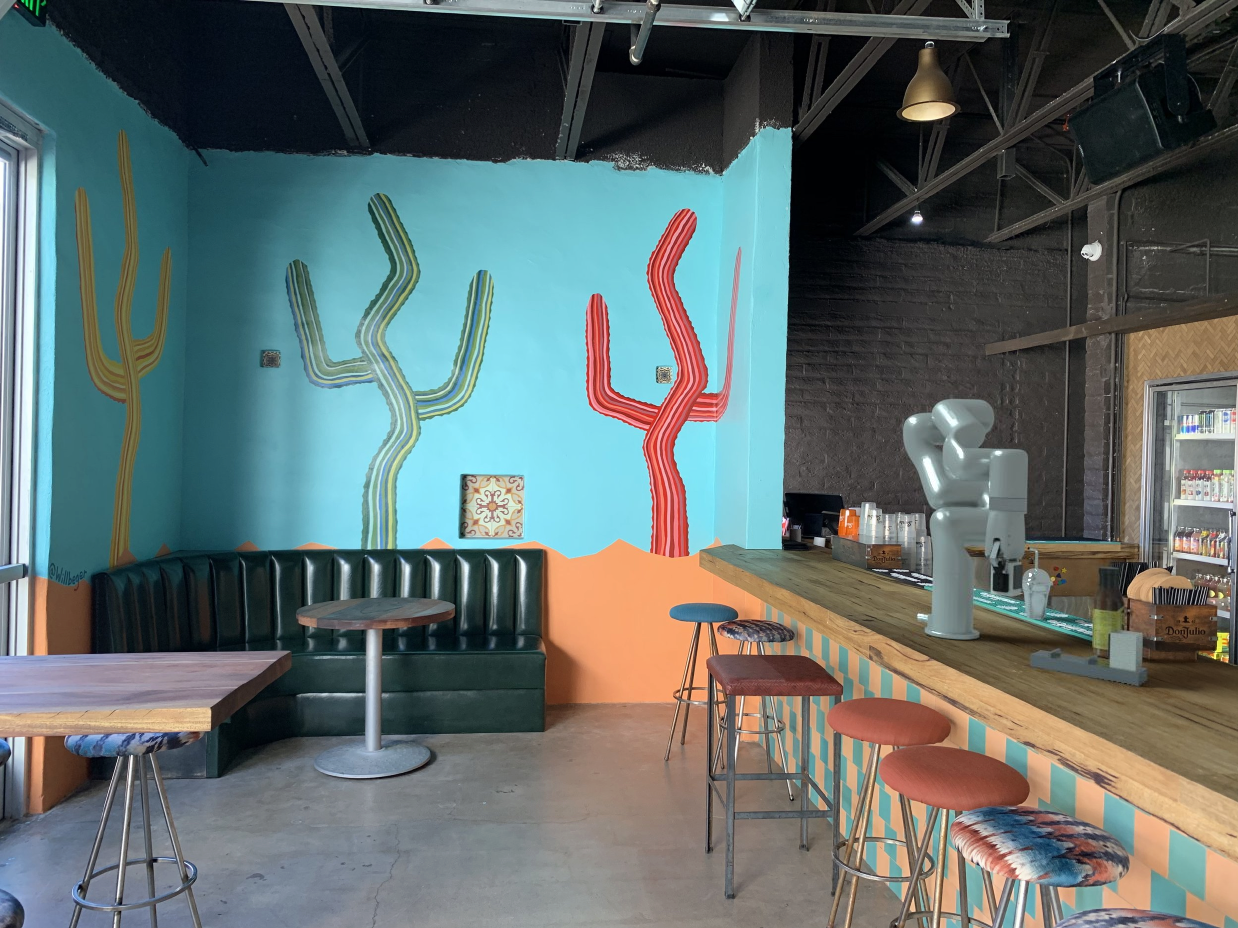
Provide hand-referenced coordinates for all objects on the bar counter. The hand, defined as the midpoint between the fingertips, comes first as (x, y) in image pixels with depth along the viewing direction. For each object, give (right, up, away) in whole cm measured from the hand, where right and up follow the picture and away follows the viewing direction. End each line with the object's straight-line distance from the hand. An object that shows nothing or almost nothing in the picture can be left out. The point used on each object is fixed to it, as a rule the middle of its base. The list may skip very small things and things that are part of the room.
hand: (1005, 589), depth 181 cm
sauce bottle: (+26, -16, +7) cm, 32 cm away
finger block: (0, -1, 0) cm, 1 cm away
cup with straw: (+32, -16, +51) cm, 63 cm away
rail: (+13, -16, -9) cm, 22 cm away
